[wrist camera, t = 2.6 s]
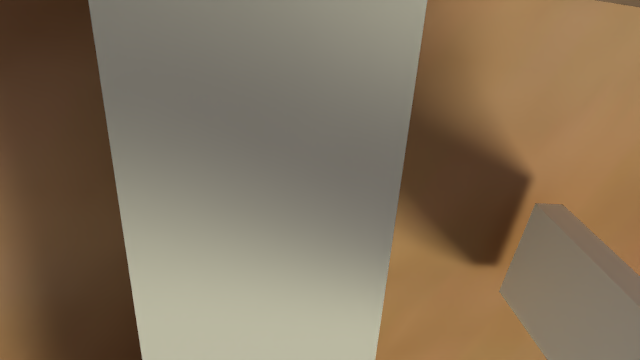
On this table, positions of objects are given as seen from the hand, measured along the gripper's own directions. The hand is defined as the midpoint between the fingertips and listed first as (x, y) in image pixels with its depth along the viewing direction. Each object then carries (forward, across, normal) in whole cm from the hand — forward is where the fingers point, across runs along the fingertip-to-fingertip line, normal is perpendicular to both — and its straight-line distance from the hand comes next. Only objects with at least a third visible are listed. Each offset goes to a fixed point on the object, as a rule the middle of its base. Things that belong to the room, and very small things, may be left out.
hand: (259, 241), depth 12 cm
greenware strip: (+1, 0, 0) cm, 1 cm away
